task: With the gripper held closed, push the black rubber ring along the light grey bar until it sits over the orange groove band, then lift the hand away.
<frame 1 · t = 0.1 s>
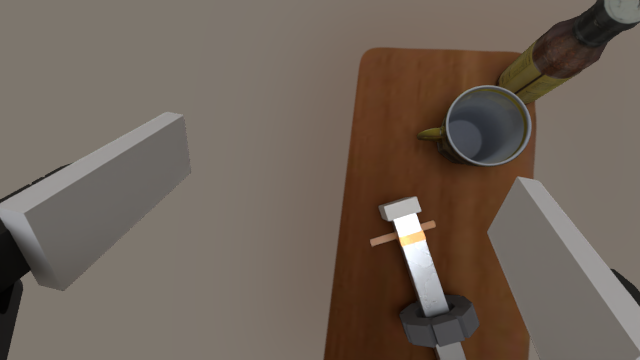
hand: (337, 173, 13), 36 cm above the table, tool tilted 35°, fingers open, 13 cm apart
sauce bottle: (513, 87, 47), on the table
ceramic cup: (447, 142, 48), on the table
ring: (437, 318, 40), point 5 cm above the table, slide at 0.0 cm
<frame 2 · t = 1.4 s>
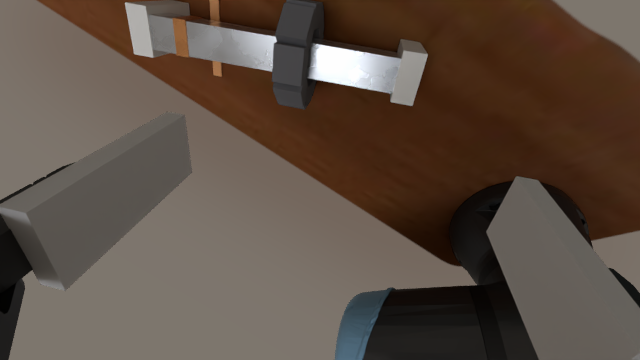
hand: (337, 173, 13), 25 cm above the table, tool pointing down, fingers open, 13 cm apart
ring: (300, 55, 29), point 5 cm above the table, slide at 0.0 cm
stand: (394, 61, 33), on the table
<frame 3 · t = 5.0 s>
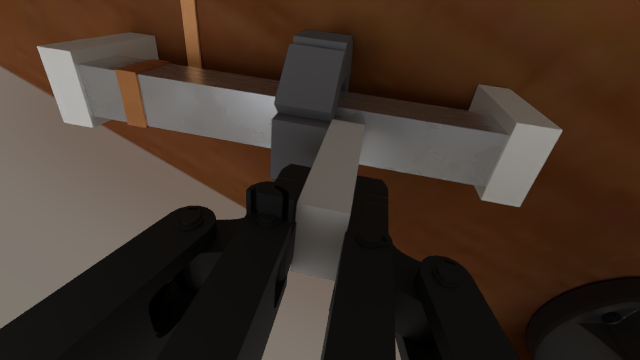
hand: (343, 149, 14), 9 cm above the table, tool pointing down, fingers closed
ring: (316, 120, 18), point 5 cm above the table, slide at 0.6 cm, touching gripper
stand: (466, 116, 21), on the table
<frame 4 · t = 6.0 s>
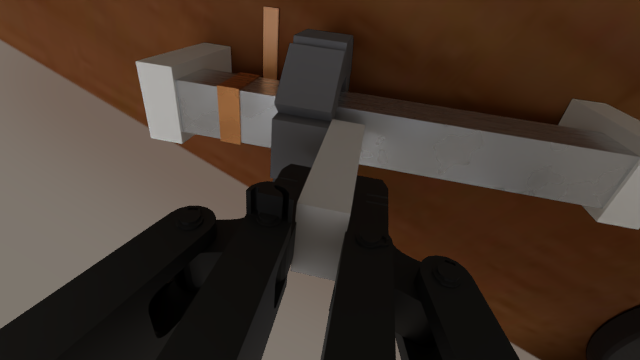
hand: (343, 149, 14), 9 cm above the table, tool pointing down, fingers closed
ring: (316, 120, 18), point 5 cm above the table, slide at 6.4 cm, touching gripper
stand: (554, 130, 21), on the table
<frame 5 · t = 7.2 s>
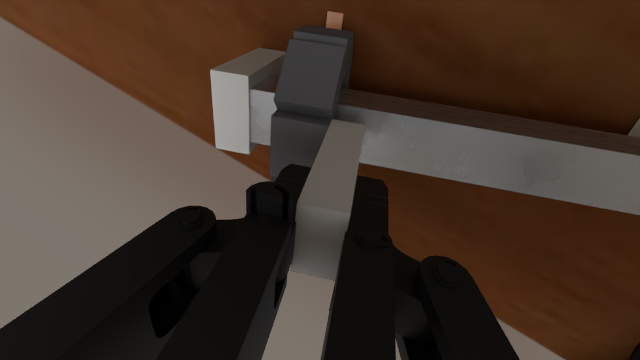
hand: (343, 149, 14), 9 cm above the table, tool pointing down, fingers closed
ring: (316, 117, 18), point 6 cm above the table, slide at 10.6 cm, touching gripper
stand: (623, 140, 20), on the table
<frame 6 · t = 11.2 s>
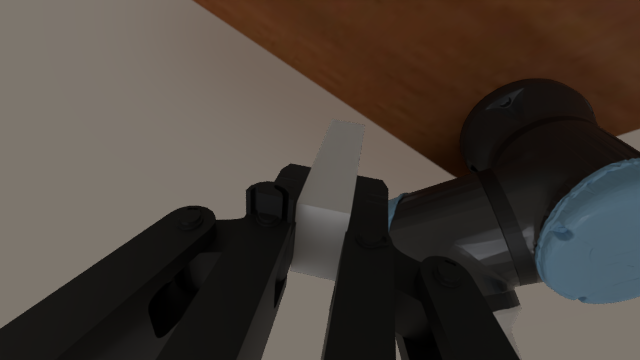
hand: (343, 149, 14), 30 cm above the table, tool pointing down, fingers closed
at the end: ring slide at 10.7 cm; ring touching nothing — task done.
